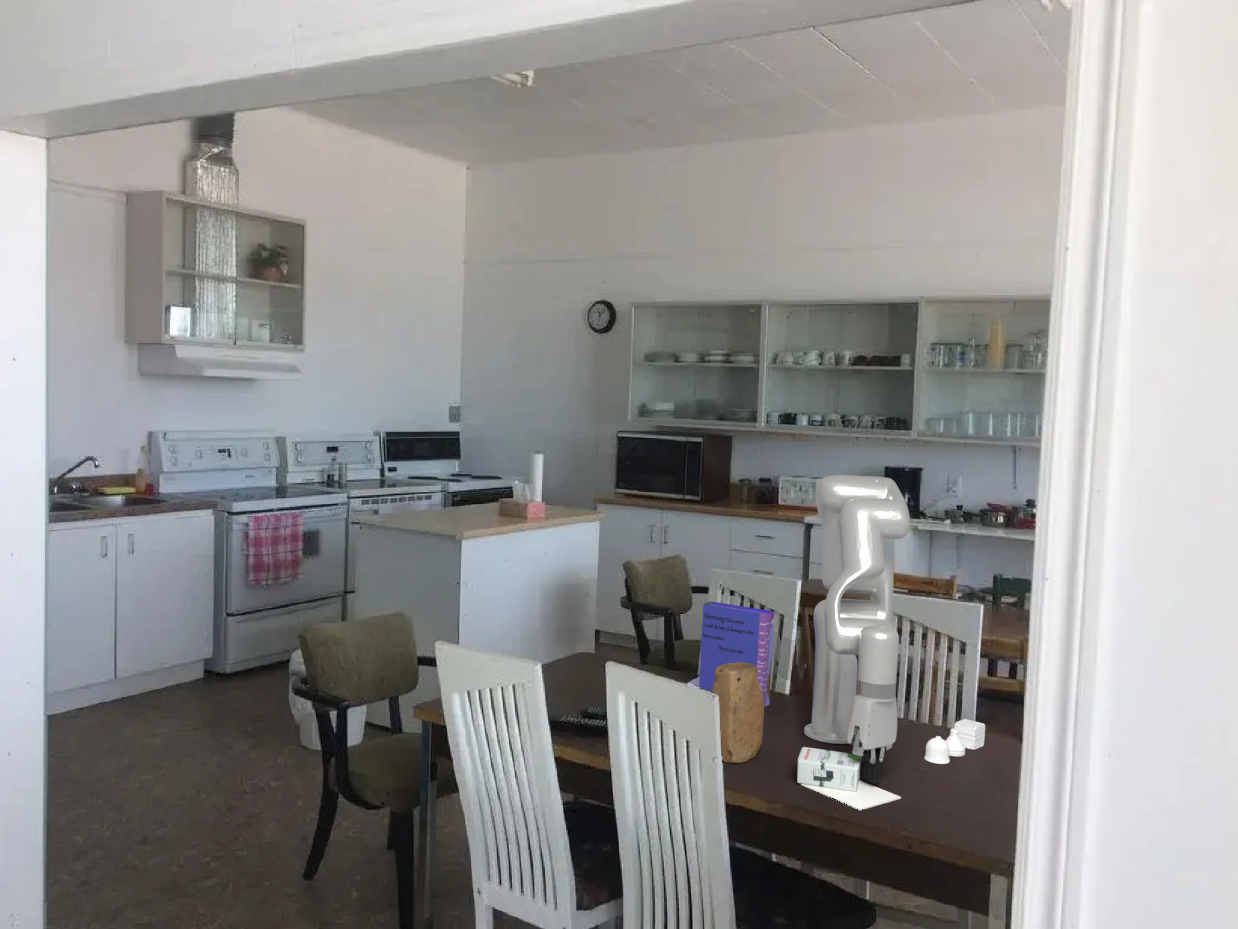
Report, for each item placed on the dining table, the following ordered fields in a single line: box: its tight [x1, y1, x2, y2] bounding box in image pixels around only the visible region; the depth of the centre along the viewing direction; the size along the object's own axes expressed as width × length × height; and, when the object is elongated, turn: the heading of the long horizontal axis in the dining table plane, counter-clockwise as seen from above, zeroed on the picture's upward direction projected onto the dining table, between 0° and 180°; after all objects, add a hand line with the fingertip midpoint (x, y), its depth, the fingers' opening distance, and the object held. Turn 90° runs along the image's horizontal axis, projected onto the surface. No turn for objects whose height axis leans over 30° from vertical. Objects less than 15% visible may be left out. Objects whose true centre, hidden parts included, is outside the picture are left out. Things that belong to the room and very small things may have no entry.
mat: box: [800, 779, 902, 811], centre depth 206 cm, size 12×15×1 cm
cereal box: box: [698, 601, 775, 709], centre depth 265 cm, size 17×5×24 cm, turn 59°
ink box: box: [796, 746, 862, 792], centre depth 210 cm, size 9×5×12 cm
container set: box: [924, 718, 986, 765], centre depth 233 cm, size 20×5×6 cm, turn 136°
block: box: [712, 662, 765, 764], centre depth 222 cm, size 11×8×20 cm
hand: (870, 780), depth 209 cm, fingers closed
